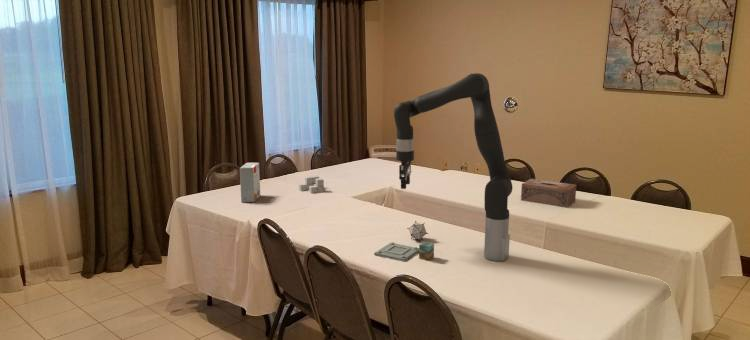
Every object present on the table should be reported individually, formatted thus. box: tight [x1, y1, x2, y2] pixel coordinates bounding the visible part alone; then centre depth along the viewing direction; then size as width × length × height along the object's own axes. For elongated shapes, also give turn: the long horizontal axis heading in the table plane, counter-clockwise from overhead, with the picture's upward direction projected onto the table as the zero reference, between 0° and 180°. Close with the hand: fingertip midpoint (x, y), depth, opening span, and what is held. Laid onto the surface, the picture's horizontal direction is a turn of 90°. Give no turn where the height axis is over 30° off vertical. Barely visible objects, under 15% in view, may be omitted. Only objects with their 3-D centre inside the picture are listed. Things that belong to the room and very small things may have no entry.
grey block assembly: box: [298, 175, 325, 194], centre depth 325 cm, size 12×12×8 cm
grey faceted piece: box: [406, 220, 429, 242], centre depth 240 cm, size 9×8×10 cm
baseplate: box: [373, 241, 419, 262], centre depth 224 cm, size 14×14×2 cm
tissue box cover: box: [520, 178, 577, 209], centre depth 300 cm, size 26×14×10 cm, turn 54°
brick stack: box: [418, 241, 435, 262], centre depth 218 cm, size 4×4×6 cm
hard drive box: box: [239, 162, 261, 203], centre depth 306 cm, size 16×8×20 cm, turn 179°
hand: (405, 186), depth 231 cm, fingers open, 8 cm apart
